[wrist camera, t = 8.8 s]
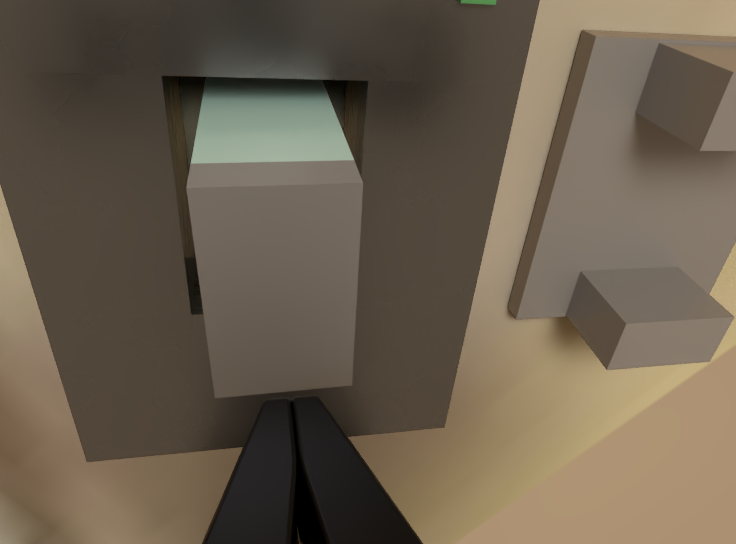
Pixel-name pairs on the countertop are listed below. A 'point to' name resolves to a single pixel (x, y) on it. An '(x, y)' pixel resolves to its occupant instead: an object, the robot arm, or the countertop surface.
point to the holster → (638, 199)
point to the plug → (275, 235)
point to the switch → (171, 209)
